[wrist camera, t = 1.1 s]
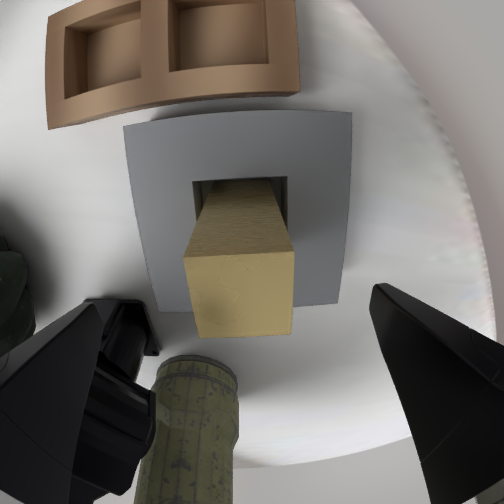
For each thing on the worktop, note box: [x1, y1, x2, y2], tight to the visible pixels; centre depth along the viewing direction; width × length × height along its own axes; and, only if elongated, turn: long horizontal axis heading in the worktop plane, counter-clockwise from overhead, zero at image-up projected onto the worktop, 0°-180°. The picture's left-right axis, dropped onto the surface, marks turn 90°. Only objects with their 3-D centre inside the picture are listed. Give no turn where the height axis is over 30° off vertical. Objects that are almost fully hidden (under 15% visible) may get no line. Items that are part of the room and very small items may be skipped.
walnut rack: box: [45, 0, 300, 130], centre depth 12 cm, size 14×8×4 cm, turn 93°
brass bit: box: [183, 179, 294, 338], centre depth 14 cm, size 3×3×10 cm
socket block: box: [123, 110, 352, 312], centre depth 17 cm, size 12×12×4 cm
